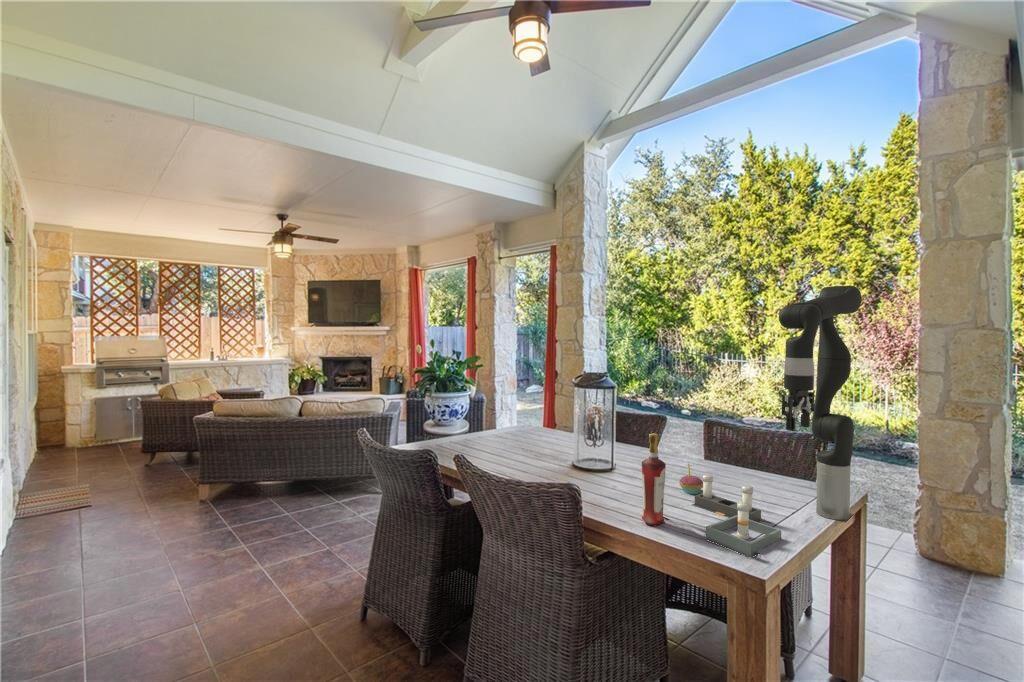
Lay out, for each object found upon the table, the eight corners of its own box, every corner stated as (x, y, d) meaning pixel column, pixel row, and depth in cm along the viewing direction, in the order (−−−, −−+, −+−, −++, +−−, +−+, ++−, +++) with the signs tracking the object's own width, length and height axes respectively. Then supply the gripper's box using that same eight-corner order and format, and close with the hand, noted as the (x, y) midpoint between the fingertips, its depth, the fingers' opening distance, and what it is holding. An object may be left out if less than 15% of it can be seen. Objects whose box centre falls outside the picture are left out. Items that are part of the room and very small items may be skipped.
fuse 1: (706, 503, 169) (706, 474, 169) (714, 505, 167) (714, 476, 166) (700, 504, 167) (700, 475, 167) (708, 507, 165) (709, 478, 165)
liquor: (646, 516, 161) (647, 431, 160) (668, 522, 156) (669, 434, 156) (637, 523, 155) (637, 434, 155) (659, 529, 151) (660, 438, 150)
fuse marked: (740, 535, 144) (741, 501, 144) (751, 539, 141) (751, 504, 141) (734, 538, 142) (734, 503, 142) (745, 542, 140) (745, 506, 139)
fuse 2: (745, 515, 158) (745, 484, 157) (754, 519, 155) (755, 487, 155) (739, 518, 156) (739, 486, 156) (749, 521, 153) (749, 489, 153)
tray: (736, 528, 152) (736, 515, 152) (781, 544, 141) (781, 530, 140) (705, 540, 143) (705, 526, 143) (750, 558, 132) (751, 543, 132)
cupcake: (674, 493, 184) (674, 461, 184) (692, 490, 187) (692, 459, 187) (690, 500, 176) (690, 467, 176) (709, 497, 179) (709, 464, 179)
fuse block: (705, 504, 172) (705, 491, 172) (764, 524, 155) (764, 509, 155) (690, 509, 168) (691, 496, 168) (750, 530, 150) (750, 515, 150)
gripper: (800, 375, 137) (799, 433, 137) (824, 373, 145) (823, 428, 145) (773, 373, 143) (772, 429, 143) (797, 371, 151) (796, 424, 151)
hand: (798, 428), depth 144 cm, fingers open, 8 cm apart
